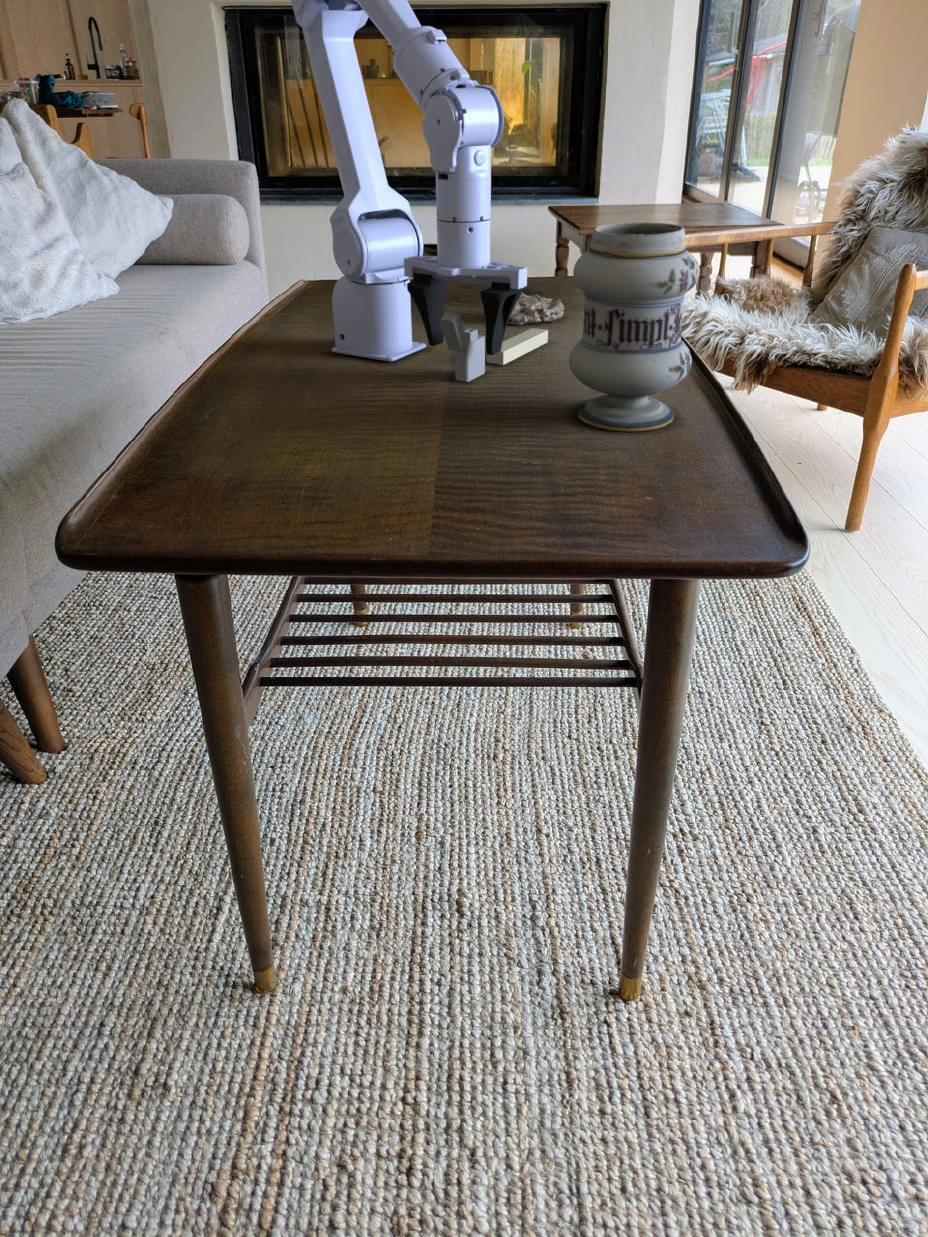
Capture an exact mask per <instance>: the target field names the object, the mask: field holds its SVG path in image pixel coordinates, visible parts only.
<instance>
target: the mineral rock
mask: <svg viewBox="0 0 928 1237" xmlns="http://www.w3.org/2000/svg"><path fill="white" fill-rule="evenodd" d="M564 310H565V304H563V301H562V300H561V299H560V298H550V297H544V296H540V295H539V294H531V295H527V294H525V293H523V292H522V294H521V295H520V297H519V299H518V301H517V303H516V305H515V307H514V309H513V311H512V313H511V316H510V318H509V321H508V324H507V325H516V326H522V325H529V324H538V323H541V322H545V323H547V322H553V321H555V320H558V319H561V318H563V316H564V313H565V312H564Z"/></svg>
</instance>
